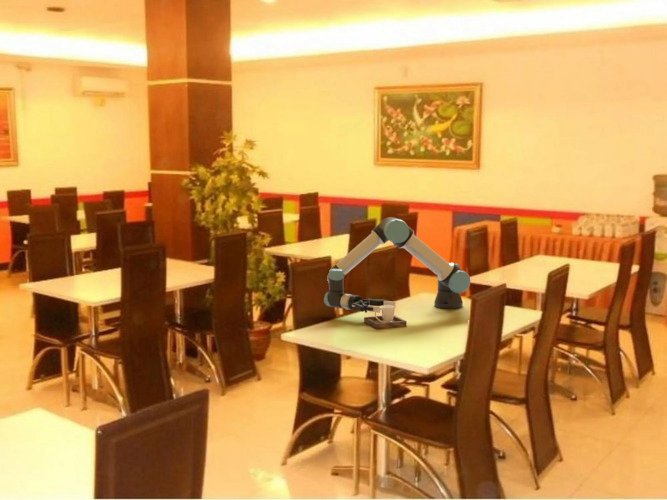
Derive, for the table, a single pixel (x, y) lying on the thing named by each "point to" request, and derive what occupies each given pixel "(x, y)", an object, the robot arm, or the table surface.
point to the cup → (387, 313)
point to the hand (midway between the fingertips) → (387, 307)
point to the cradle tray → (379, 325)
